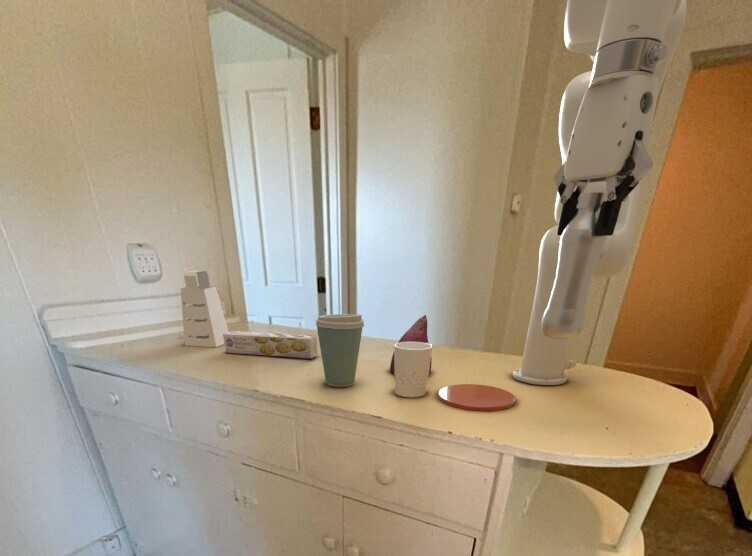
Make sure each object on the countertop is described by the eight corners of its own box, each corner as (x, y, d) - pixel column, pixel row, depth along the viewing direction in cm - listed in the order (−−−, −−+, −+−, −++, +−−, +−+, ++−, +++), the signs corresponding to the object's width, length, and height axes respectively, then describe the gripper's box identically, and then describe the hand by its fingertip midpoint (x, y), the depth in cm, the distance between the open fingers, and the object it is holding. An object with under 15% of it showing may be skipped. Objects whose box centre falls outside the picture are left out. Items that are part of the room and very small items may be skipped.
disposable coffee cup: (308, 383, 99) (304, 313, 91) (341, 374, 106) (340, 308, 98) (340, 393, 93) (338, 318, 85) (373, 383, 100) (374, 313, 92)
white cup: (431, 390, 96) (435, 343, 90) (423, 400, 89) (427, 350, 84) (397, 386, 98) (400, 340, 92) (388, 396, 92) (389, 347, 86)
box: (225, 353, 124) (221, 332, 121) (235, 349, 128) (232, 329, 125) (311, 360, 118) (310, 338, 115) (318, 356, 122) (317, 335, 119)
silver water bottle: (532, 335, 75) (560, 195, 64) (568, 335, 76) (603, 195, 65) (547, 342, 70) (582, 190, 59) (587, 342, 70) (628, 191, 60)
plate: (481, 384, 100) (482, 380, 100) (531, 404, 88) (532, 400, 88) (424, 392, 94) (424, 389, 94) (468, 415, 82) (469, 411, 82)
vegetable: (426, 380, 114) (446, 321, 107) (427, 386, 104) (449, 322, 98) (389, 368, 113) (406, 308, 107) (386, 373, 104) (405, 308, 97)
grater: (184, 345, 132) (169, 271, 121) (201, 339, 141) (188, 269, 130) (216, 347, 131) (203, 272, 120) (231, 340, 140) (220, 270, 129)
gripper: (710, 53, 50) (652, 235, 60) (588, 91, 63) (557, 235, 73) (669, 42, 47) (616, 235, 57) (551, 84, 60) (524, 235, 70)
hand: (583, 234), depth 65 cm, fingers closed on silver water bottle, 6 cm apart
